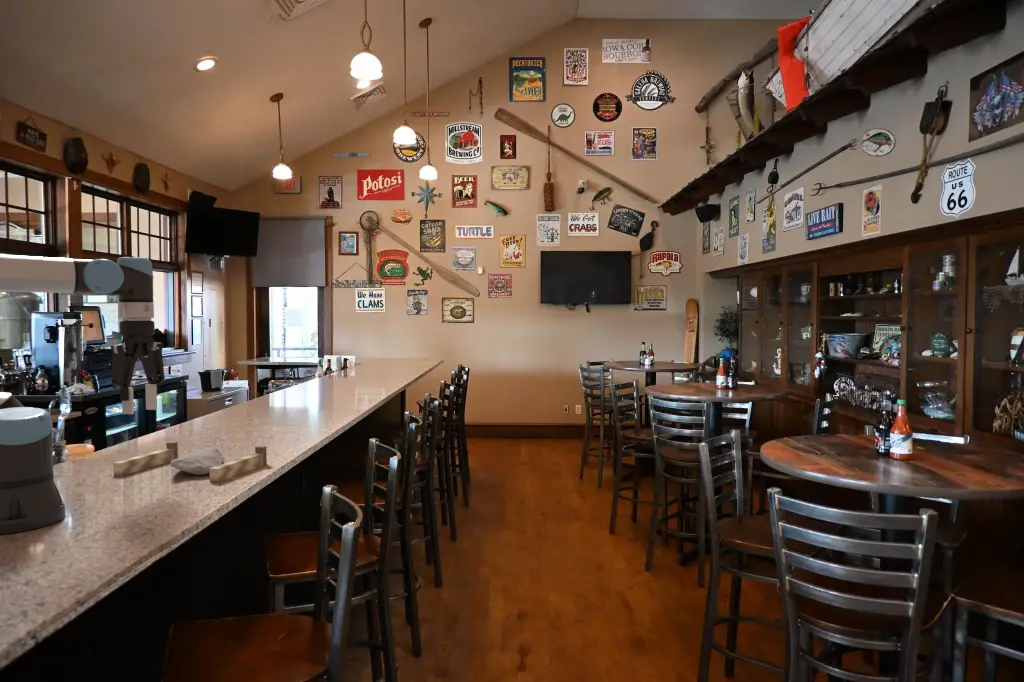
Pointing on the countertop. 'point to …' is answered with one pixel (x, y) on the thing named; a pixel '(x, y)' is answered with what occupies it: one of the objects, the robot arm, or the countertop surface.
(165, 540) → the countertop surface
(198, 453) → the stone
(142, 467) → the rails
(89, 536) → the countertop surface
